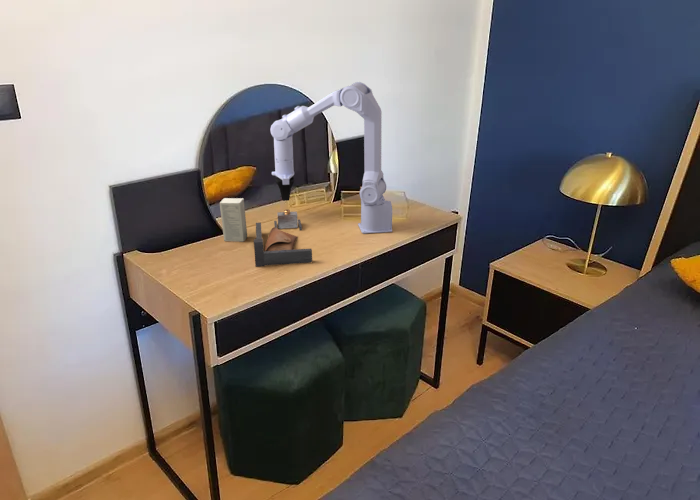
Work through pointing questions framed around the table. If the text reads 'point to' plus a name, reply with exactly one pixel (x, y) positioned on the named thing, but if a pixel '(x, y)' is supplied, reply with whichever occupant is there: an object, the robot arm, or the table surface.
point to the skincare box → (233, 219)
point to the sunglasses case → (279, 240)
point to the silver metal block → (287, 219)
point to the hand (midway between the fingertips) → (285, 200)
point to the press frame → (278, 252)
